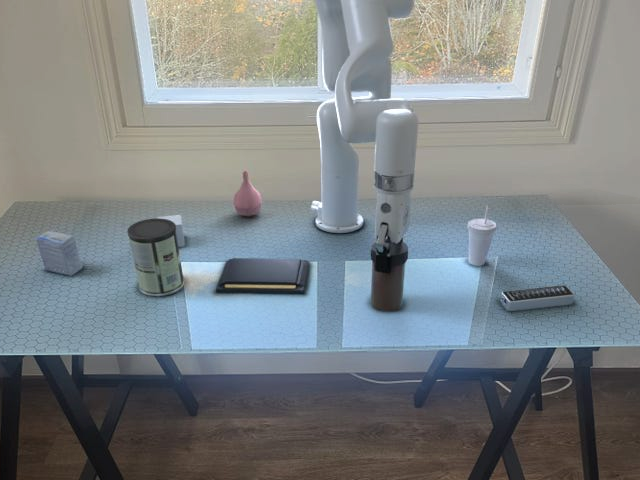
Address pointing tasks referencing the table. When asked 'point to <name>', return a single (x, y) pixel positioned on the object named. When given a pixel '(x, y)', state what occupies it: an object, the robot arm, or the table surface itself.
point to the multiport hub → (537, 298)
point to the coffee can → (156, 256)
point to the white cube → (177, 228)
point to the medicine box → (59, 253)
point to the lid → (393, 253)
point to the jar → (387, 289)
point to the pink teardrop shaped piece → (247, 198)
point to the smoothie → (480, 239)
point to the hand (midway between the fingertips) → (388, 262)
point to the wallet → (264, 276)
